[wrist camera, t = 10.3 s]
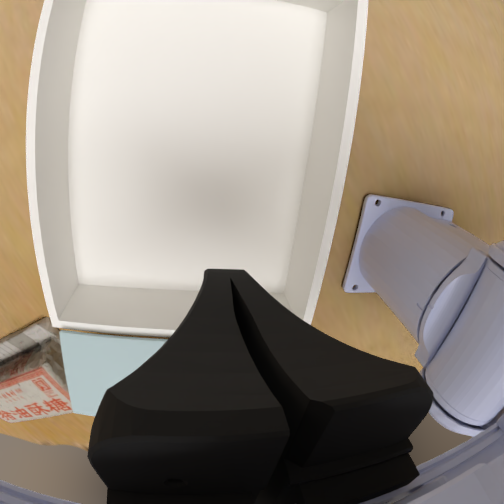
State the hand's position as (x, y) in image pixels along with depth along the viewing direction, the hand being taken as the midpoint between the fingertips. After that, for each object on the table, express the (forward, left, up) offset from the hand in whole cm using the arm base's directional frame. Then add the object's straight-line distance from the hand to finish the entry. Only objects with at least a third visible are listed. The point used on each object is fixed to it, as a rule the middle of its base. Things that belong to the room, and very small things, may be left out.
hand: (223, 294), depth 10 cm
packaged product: (+19, +18, -11) cm, 29 cm away
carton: (+2, -4, -10) cm, 11 cm away
